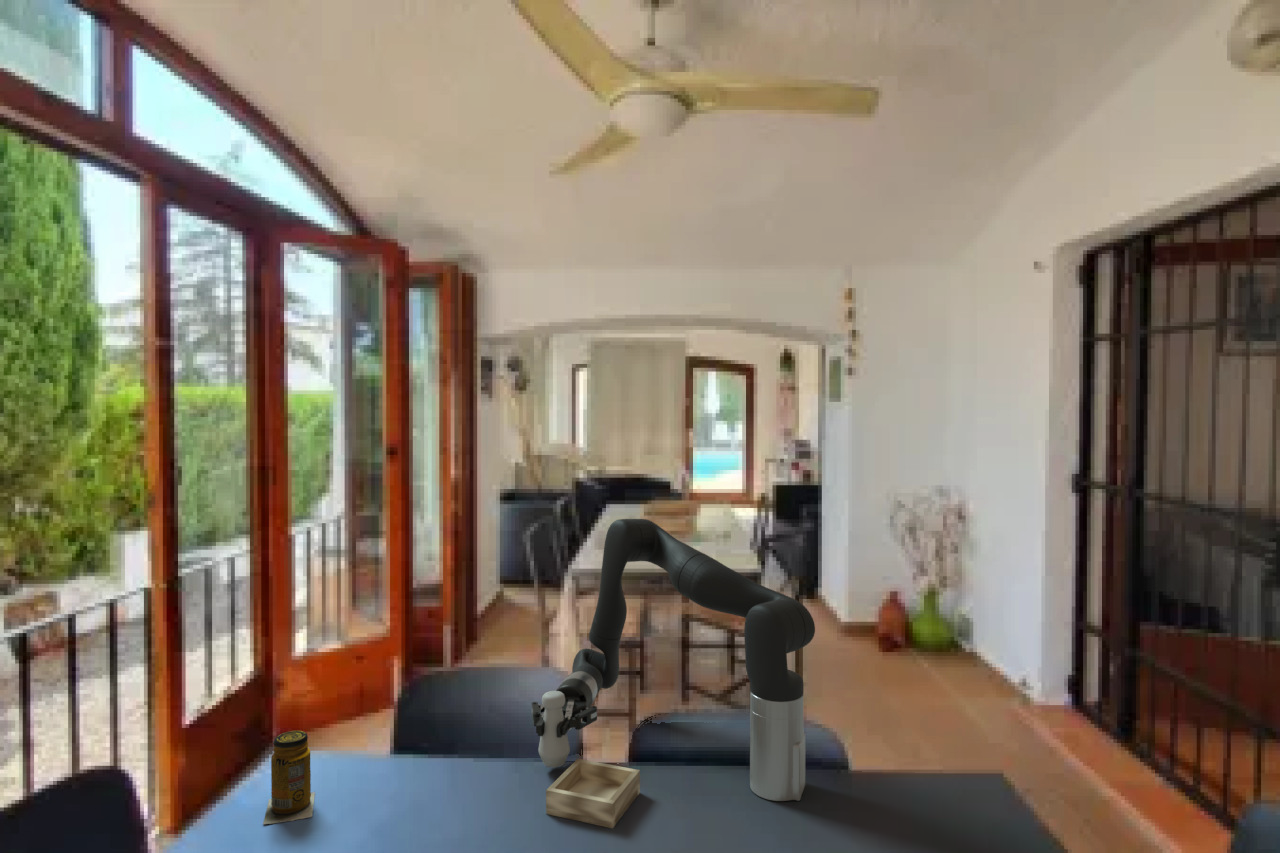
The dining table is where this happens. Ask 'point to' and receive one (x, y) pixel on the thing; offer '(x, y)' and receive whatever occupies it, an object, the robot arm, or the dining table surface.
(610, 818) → the serving bin
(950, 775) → the dining table surface
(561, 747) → the salt shaker
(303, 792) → the condiment
